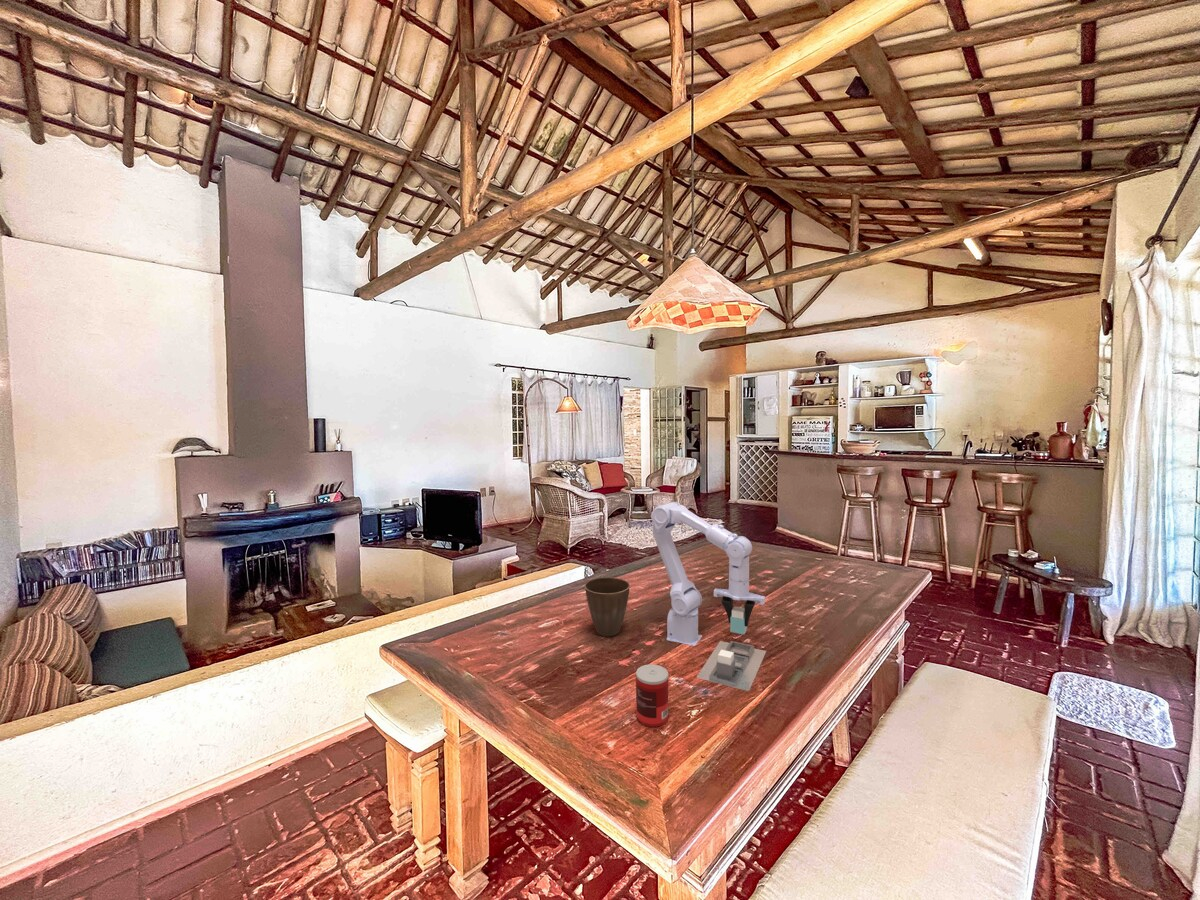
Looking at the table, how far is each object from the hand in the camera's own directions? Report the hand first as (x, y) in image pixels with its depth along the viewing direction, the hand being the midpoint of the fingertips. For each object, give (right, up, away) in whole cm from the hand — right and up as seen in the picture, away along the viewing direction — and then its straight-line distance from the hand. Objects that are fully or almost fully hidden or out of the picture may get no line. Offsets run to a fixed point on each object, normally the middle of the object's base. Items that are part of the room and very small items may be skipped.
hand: (738, 623), depth 142 cm
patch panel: (-3, -10, -5) cm, 12 cm away
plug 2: (0, -2, 0) cm, 2 cm away
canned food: (-29, -12, -28) cm, 42 cm away
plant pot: (-39, -9, +17) cm, 43 cm away
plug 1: (-7, -10, -12) cm, 17 cm away
